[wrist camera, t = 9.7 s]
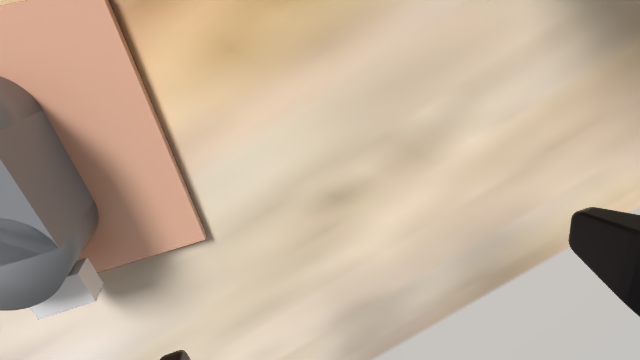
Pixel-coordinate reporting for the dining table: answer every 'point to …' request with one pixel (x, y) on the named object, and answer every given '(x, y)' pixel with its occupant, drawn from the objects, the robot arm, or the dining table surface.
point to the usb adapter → (41, 213)
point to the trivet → (101, 125)
